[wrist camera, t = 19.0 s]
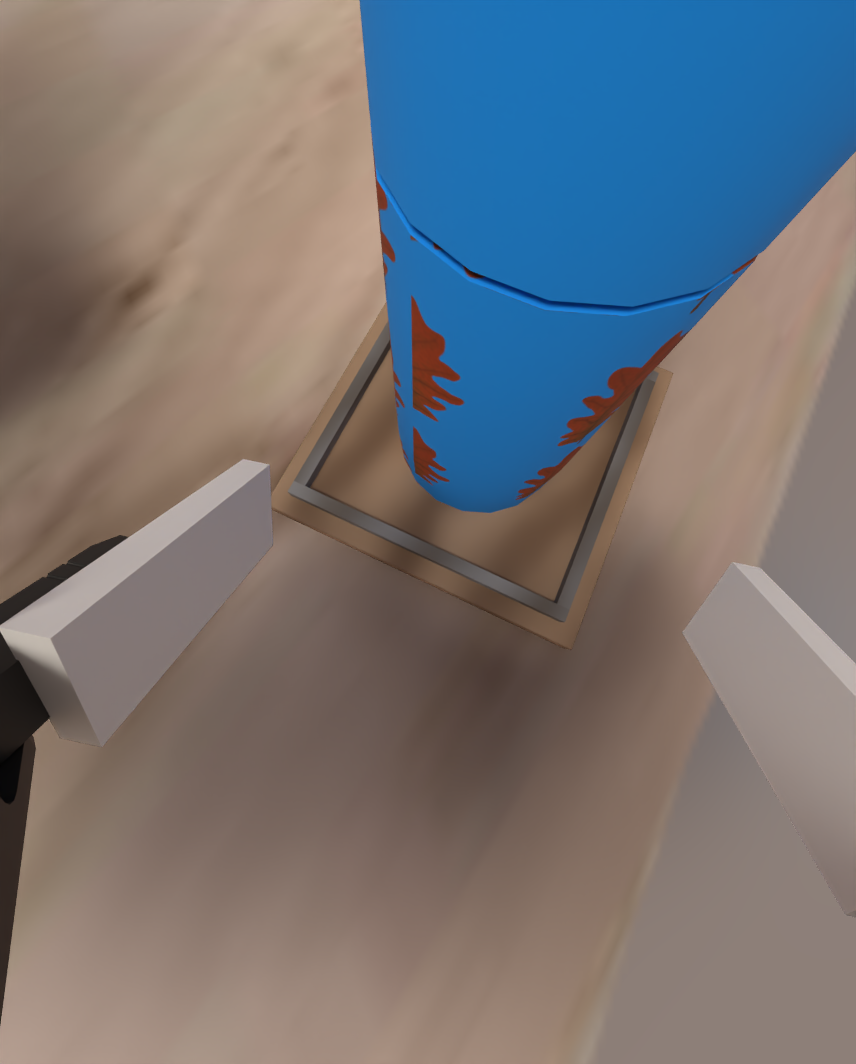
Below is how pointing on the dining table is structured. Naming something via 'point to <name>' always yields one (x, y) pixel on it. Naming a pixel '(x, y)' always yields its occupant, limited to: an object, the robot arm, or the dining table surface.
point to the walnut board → (460, 536)
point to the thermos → (578, 203)
